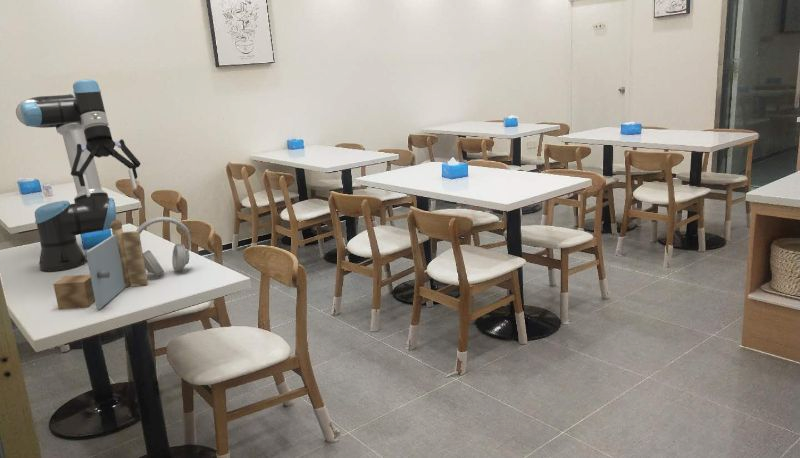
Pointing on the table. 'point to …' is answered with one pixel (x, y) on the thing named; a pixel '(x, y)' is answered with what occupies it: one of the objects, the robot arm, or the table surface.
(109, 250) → the door
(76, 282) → the walnut block
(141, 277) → the brown long wooden part
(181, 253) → the headphones
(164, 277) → the table surface
